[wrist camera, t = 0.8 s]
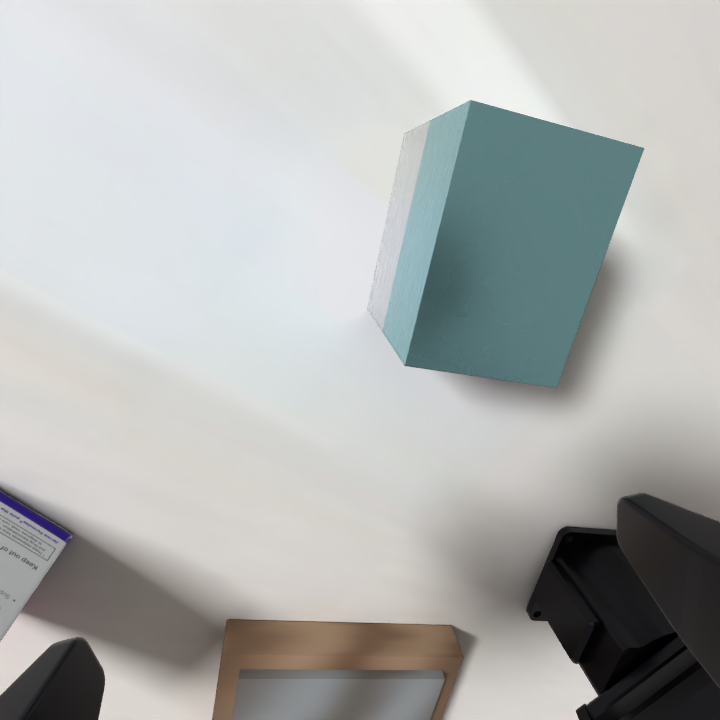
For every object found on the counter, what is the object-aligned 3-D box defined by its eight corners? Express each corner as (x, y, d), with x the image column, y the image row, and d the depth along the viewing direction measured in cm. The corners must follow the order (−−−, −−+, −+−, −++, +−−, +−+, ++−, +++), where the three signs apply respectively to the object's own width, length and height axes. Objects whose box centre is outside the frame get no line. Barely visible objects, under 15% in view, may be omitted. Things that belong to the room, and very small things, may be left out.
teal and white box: (404, 133, 18) (470, 100, 11) (520, 162, 19) (644, 148, 12) (367, 308, 20) (404, 365, 13) (473, 326, 21) (556, 387, 14)
